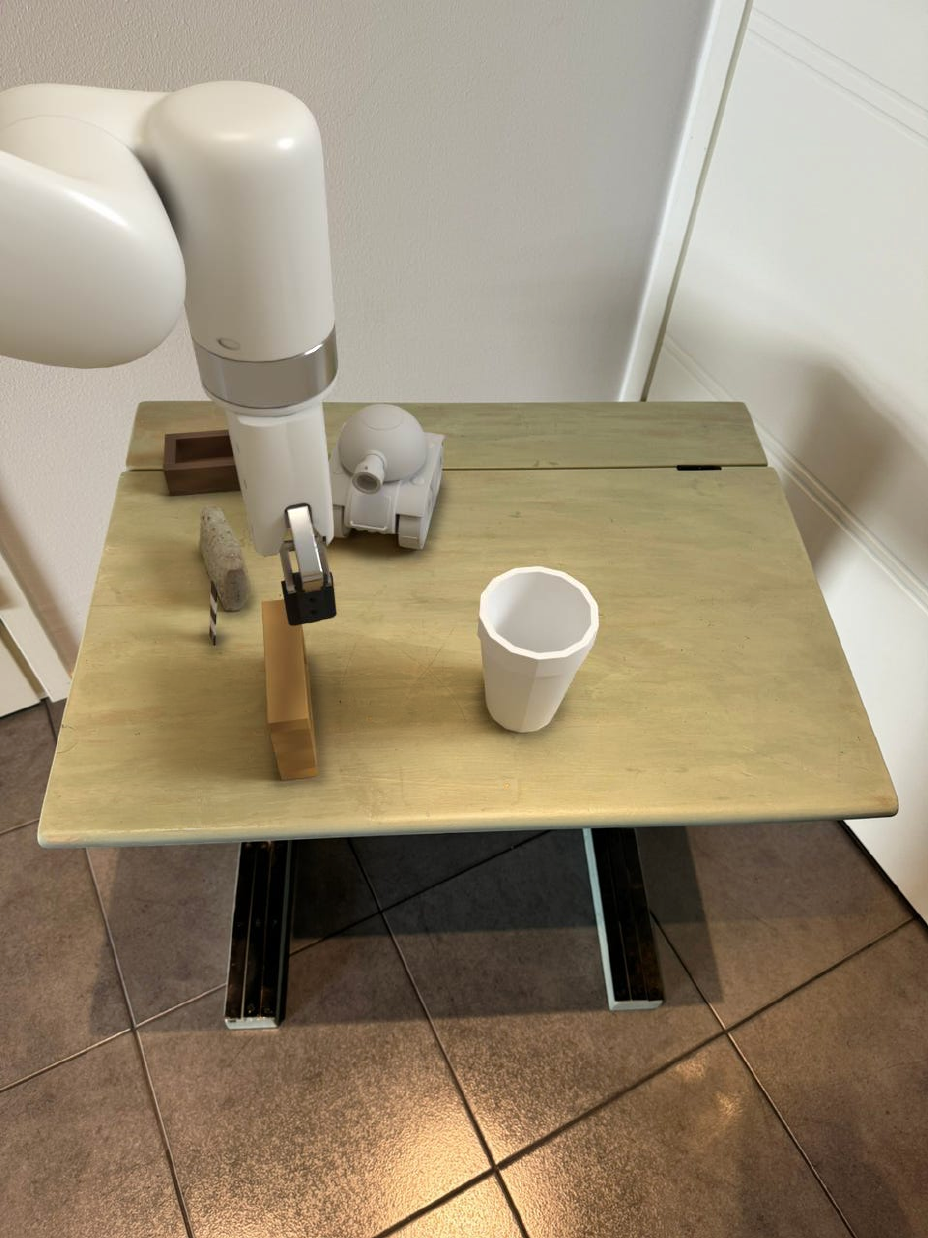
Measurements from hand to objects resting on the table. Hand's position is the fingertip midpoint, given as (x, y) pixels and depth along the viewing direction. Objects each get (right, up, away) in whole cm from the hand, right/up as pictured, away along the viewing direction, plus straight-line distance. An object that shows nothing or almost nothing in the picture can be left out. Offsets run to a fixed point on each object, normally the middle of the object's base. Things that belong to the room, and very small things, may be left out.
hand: (299, 566), depth 58 cm
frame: (-3, -12, +14) cm, 19 cm away
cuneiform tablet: (-12, -1, +23) cm, 26 cm away
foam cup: (+17, -11, +17) cm, 26 cm away
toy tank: (+3, +8, +31) cm, 32 cm away
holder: (-13, +13, +34) cm, 38 cm away
